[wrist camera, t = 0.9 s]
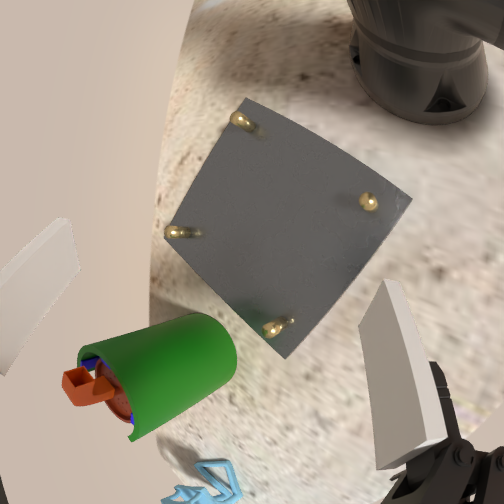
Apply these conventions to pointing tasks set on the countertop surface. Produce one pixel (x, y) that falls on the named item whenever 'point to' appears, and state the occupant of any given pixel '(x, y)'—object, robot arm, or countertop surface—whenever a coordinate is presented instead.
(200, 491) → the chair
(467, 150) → the countertop surface
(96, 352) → the motor
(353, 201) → the plate
